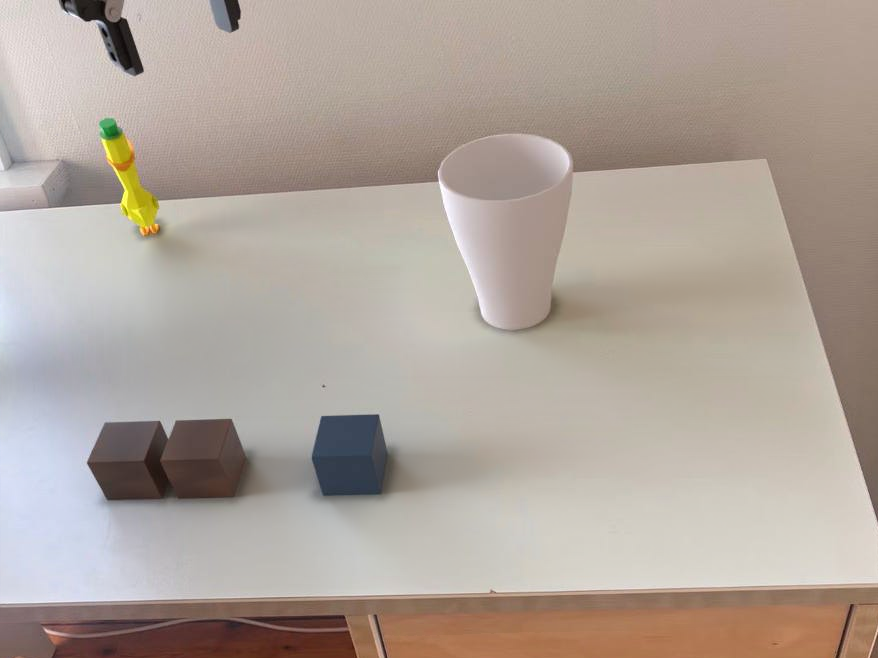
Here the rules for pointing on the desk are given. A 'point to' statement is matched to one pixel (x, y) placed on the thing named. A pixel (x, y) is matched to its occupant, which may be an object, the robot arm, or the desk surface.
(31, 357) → the desk surface
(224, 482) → the block
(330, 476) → the block
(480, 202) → the cup
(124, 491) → the block
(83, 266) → the desk surface
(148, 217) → the toy figure
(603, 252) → the desk surface
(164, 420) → the desk surface
